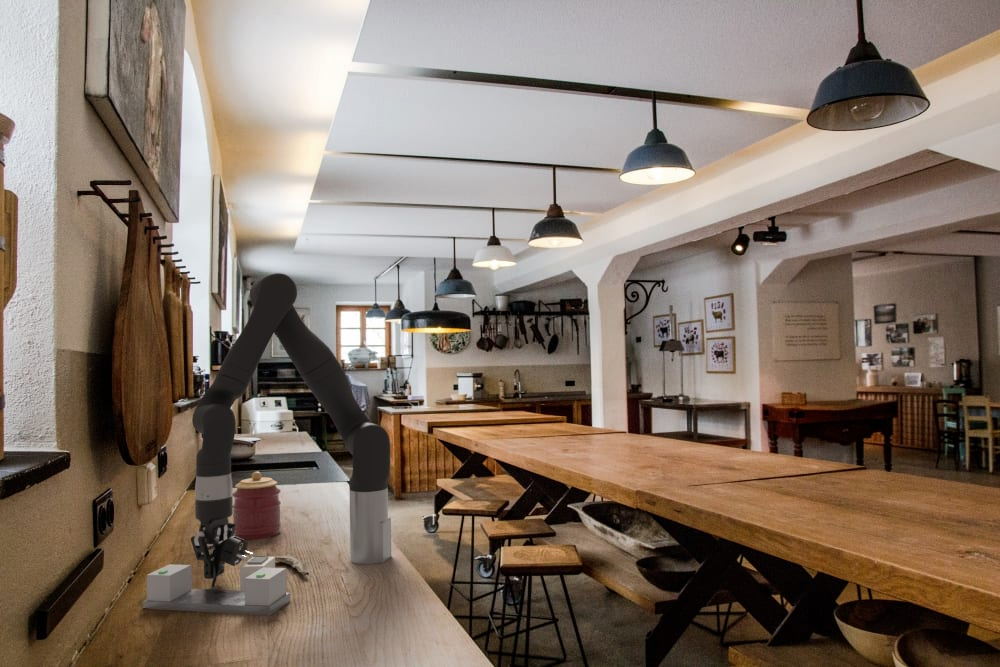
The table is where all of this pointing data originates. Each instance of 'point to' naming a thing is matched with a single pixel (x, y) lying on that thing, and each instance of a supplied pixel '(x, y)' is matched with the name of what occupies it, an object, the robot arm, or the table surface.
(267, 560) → the block
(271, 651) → the table surface
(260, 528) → the canister
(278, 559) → the jawbone
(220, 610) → the rail base
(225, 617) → the table surface
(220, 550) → the power plug
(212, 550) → the robot arm
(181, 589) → the mounted modules
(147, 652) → the table surface
